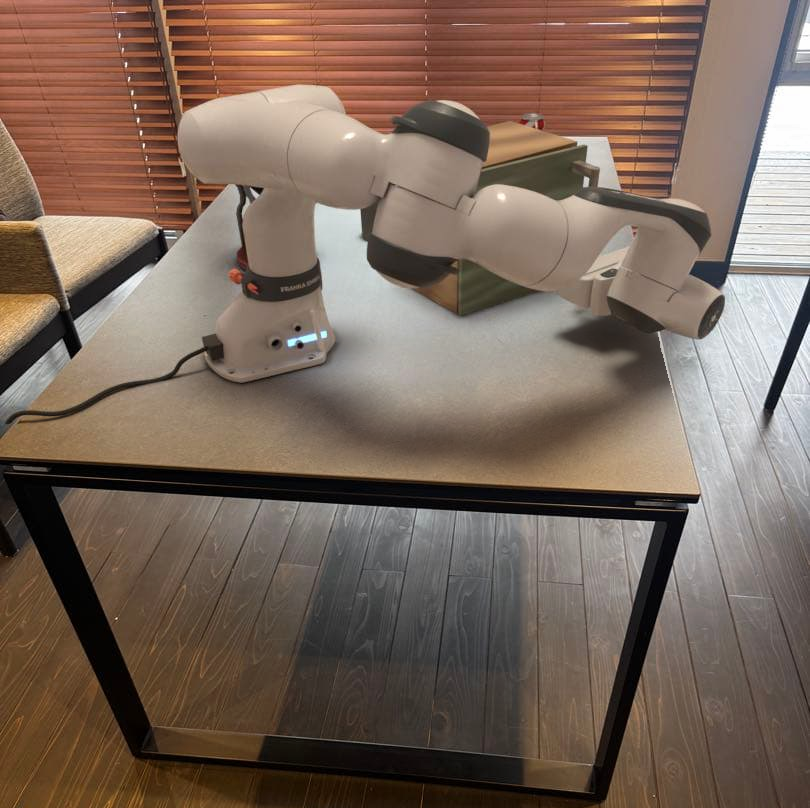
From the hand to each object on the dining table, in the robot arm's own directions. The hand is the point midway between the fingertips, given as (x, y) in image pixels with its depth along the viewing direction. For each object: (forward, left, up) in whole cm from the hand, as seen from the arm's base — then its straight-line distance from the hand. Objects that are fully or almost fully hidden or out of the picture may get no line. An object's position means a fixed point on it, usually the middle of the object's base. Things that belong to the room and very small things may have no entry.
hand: (576, 258), depth 139 cm
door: (-5, +6, -9) cm, 12 cm away
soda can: (+48, +66, -9) cm, 82 cm away
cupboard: (-5, +20, -9) cm, 22 cm away
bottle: (-9, +52, -9) cm, 53 cm away
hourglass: (-32, +55, -9) cm, 64 cm away
